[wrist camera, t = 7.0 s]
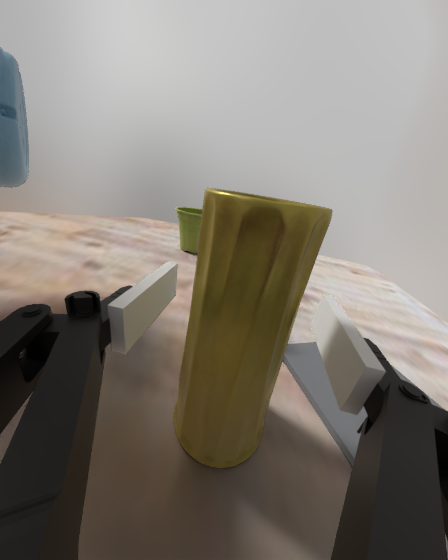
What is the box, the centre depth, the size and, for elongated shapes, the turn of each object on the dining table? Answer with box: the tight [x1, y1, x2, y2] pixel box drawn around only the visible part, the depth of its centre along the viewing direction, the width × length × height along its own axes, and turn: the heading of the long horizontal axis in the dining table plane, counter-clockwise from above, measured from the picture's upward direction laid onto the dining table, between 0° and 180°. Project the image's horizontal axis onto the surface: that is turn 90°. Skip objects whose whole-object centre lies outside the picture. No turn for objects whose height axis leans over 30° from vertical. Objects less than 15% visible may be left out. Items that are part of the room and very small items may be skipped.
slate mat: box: [283, 342, 445, 467], centre depth 18 cm, size 11×11×1 cm
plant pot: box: [176, 207, 203, 254], centre depth 46 cm, size 9×9×9 cm
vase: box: [174, 188, 332, 468], centre depth 12 cm, size 6×6×14 cm
